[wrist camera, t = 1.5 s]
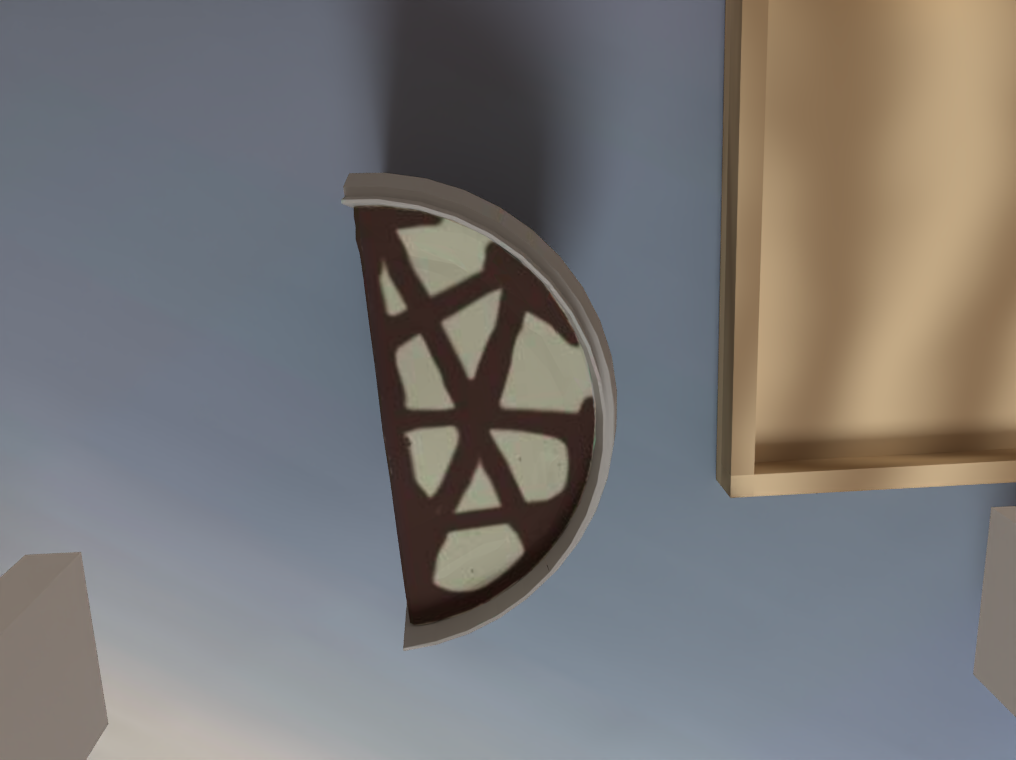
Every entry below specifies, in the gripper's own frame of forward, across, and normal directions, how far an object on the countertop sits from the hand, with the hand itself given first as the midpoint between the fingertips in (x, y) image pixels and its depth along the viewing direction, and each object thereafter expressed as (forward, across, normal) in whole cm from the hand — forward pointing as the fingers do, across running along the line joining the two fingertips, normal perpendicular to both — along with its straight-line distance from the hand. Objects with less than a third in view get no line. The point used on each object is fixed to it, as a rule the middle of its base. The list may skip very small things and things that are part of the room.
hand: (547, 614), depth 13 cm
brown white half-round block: (+19, 0, 0) cm, 19 cm away
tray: (+19, +18, +3) cm, 26 cm away
